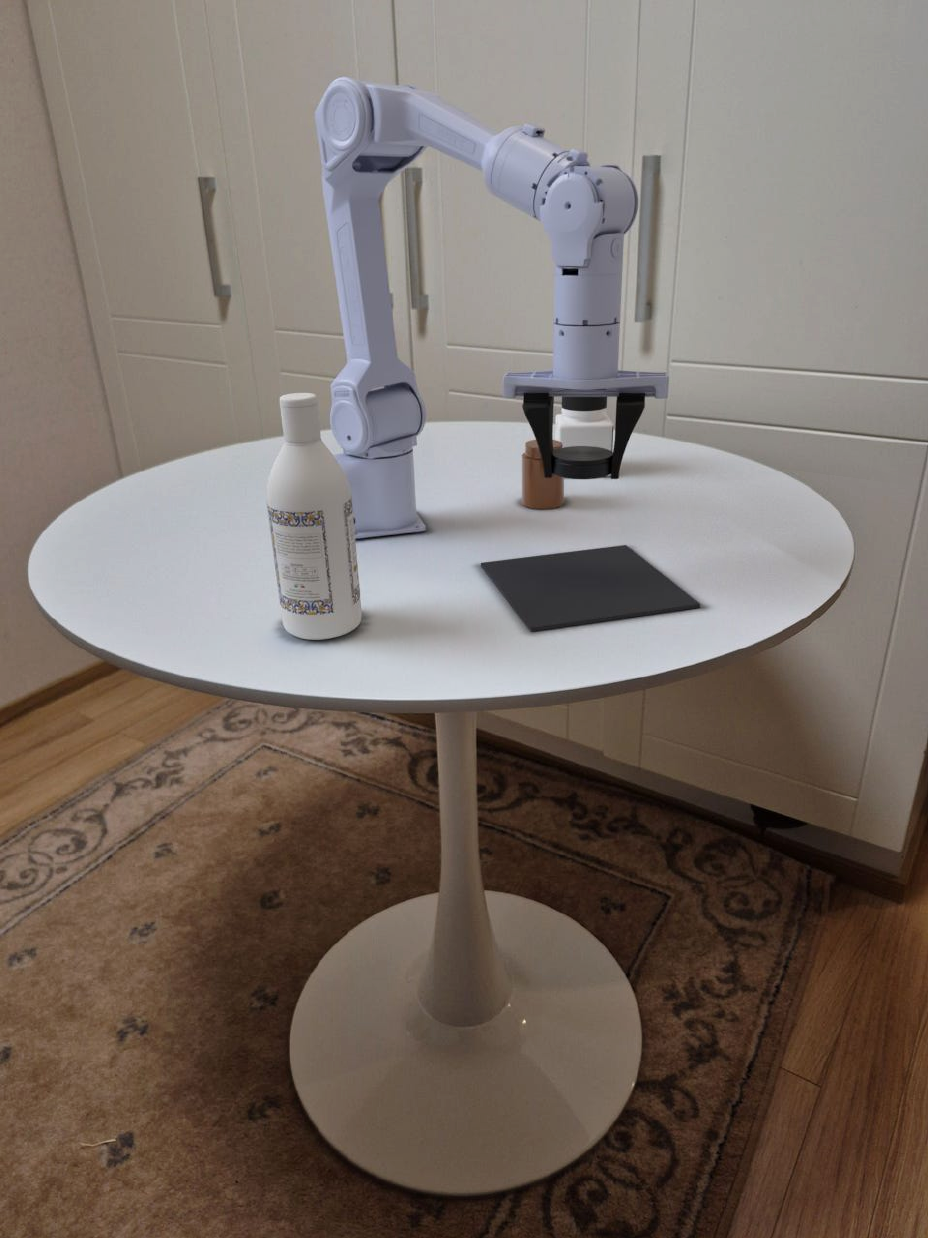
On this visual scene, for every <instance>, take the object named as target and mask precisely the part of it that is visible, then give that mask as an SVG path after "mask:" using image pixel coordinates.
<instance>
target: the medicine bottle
mask: <svg viewBox="0 0 928 1238" xmlns="http://www.w3.org/2000/svg"><path fill="white" fill-rule="evenodd" d="M563 390H574V389H563ZM593 390H606V389H593ZM607 411H608V397H561V413H560V414H559V413H557V414H556V415H555V418H554V419H555V424H554V426H555V427H554V432H555V433H554V440H556V441H559V442H561V443H562V444H563V447H562V448H564V447H571V446H593V447H600V448H605V449H608V450H610V451H612V452H613V448H614V424H613V422H612V421H611V419H610V418H609V416H608V414H607ZM607 477H611V474H610V475H608V476H607Z"/></svg>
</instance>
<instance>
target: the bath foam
mask: <svg viewBox="0 0 928 1238" xmlns="http://www.w3.org/2000/svg"><path fill="white" fill-rule="evenodd" d="M279 408H280V416H281V425H282V432H283V440H284V443H283V444H282V447H281V449H280V450H279V453H278V455H277V457H276V459H275V461H274V463H273V465H272V467H271V470H270V473H269V476H268V479H267V485H266V509H267V516H268V524H269V529H270V530H269V531H270V538H271V545H272V546H271V547H272V553H273V560H274V561H273V563H274V568H275V569H274V570H275V577H276V583H277V590H278V591H277V592H278V599H279V604H280V612H281V620H282V625H283V627H284V629H285V631H286V632H287V633H289V634H290V635H292V636H294V637H296V638H299V639H303V640H310V641H311V640H312V641H319V640H320V641H321V640H329V639H334V638H338V637H341V636H344V635H347V634H349V633H350V632H352V631H353V630H355V629H356V628H357V627H358V626H359V625H360V624H361V621H362V617H363V613H362V602H361V587H360V586H361V585H360V576H359V565H358V556H357V555H358V553H357V542H356V539H355V530H354V519H353V508H352V497H351V492H350V487H349V483H348V480H347V477H346V475H345V473H344V471H343V469H342V467H341V466H340V464H339V463H338V461H337V460H336V458H335V457H334V456H333V455H334V454H333V453H332V452H331V450H330V449H329V447H328V446H327V445H326V444H325V443H324V442H323V441H322V438H321V437H322V435H321V424H320V414H319V405H318V397H317V395H316V394H315V393H311V392H294V393H293V392H292V393H287V394H283V395H281V396H280V397H279Z"/></svg>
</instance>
